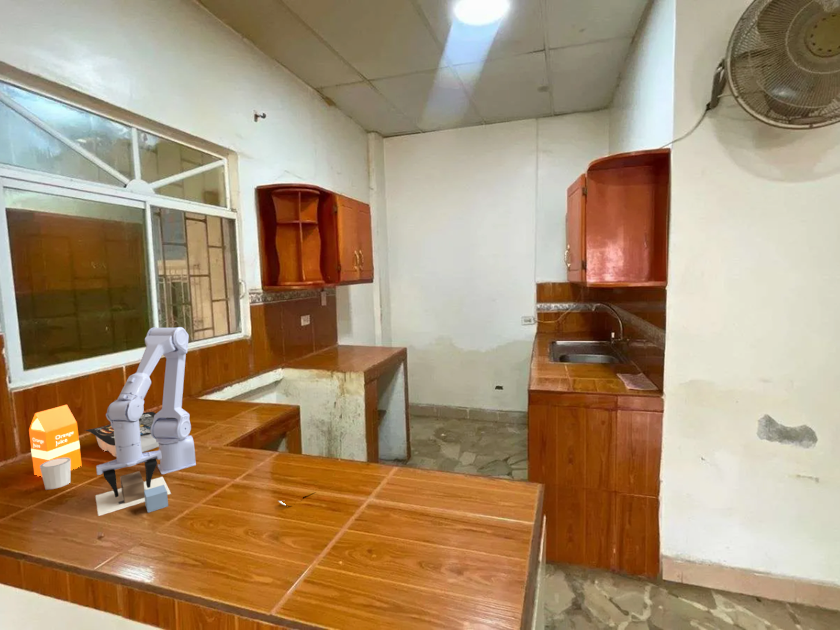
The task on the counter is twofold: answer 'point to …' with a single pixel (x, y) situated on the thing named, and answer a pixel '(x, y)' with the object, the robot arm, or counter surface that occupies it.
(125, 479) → the walnut bar
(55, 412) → the orange juice
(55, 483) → the white cup
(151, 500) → the blue cube
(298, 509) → the counter surface
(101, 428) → the food packaging
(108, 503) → the letter mat
